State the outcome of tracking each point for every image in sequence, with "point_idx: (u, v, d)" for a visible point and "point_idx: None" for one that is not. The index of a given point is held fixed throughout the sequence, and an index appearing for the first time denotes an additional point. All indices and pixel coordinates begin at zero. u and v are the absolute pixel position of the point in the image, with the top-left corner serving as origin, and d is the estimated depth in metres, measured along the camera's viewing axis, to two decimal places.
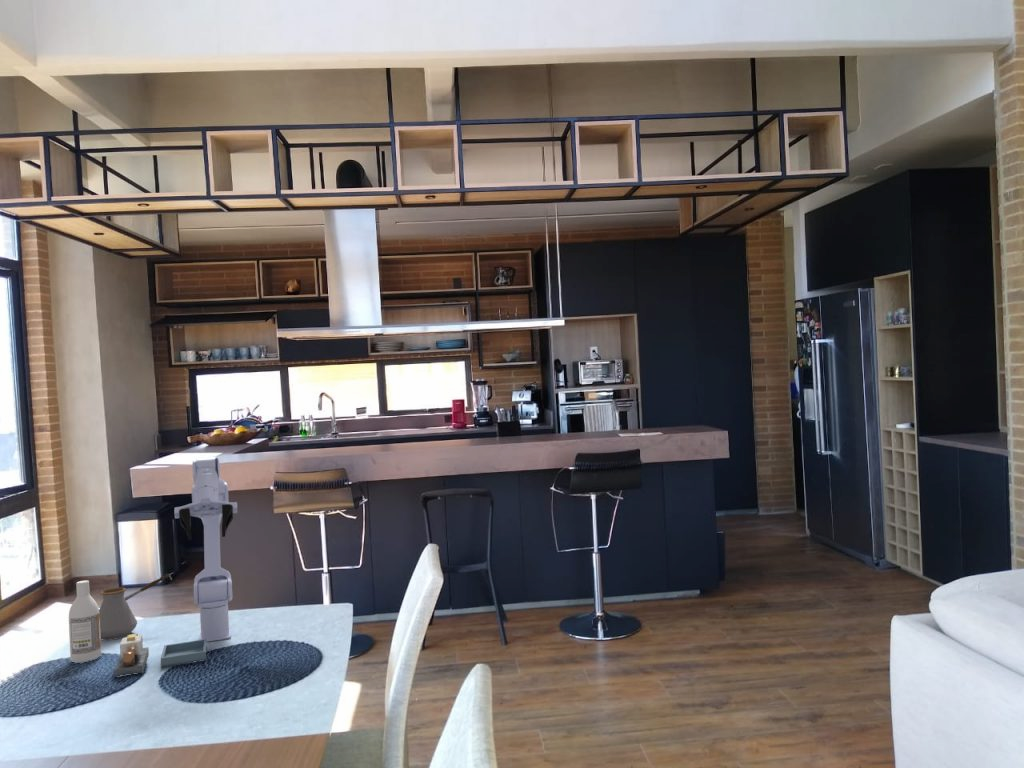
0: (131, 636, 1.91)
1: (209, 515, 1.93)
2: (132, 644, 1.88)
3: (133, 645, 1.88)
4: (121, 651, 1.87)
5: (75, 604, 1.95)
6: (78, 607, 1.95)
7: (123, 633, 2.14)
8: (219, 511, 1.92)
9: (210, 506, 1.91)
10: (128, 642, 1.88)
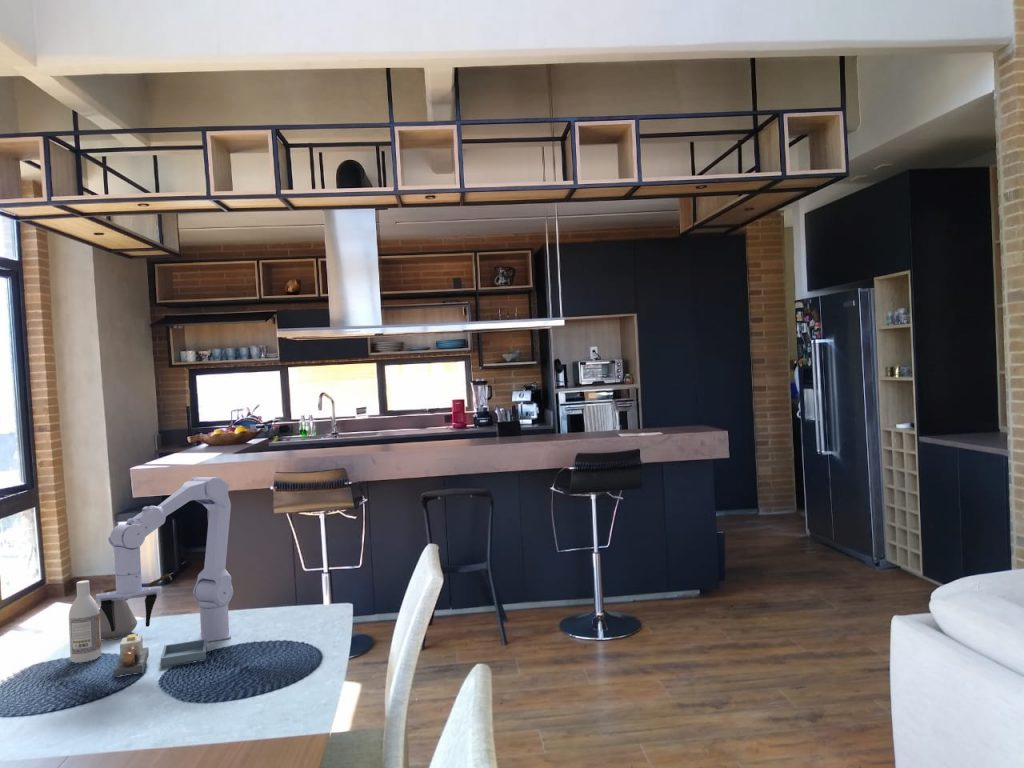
0: (131, 636, 1.91)
1: None
2: (132, 644, 1.88)
3: (133, 645, 1.88)
4: (121, 651, 1.87)
5: (75, 604, 1.95)
6: (78, 607, 1.95)
7: (123, 633, 2.14)
8: (142, 596, 1.92)
9: None
10: (128, 642, 1.88)
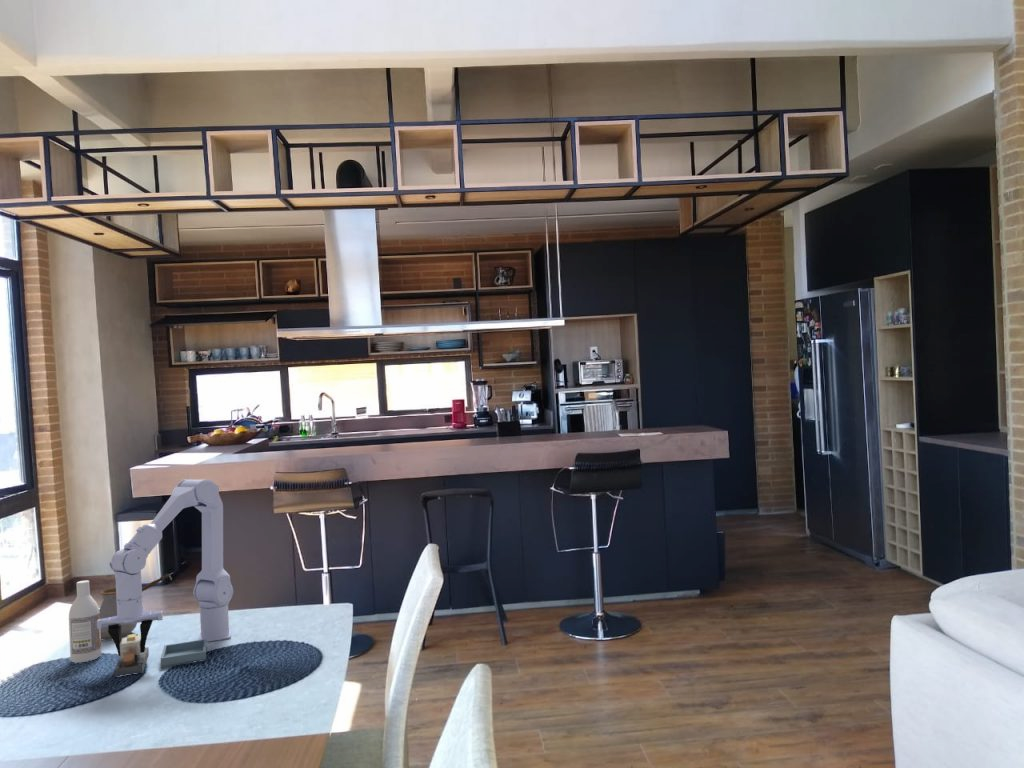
0: (131, 636, 1.91)
1: None
2: (132, 644, 1.88)
3: (133, 645, 1.88)
4: (121, 651, 1.87)
5: (75, 604, 1.95)
6: (78, 607, 1.95)
7: (123, 633, 2.14)
8: None
9: None
10: (128, 642, 1.88)
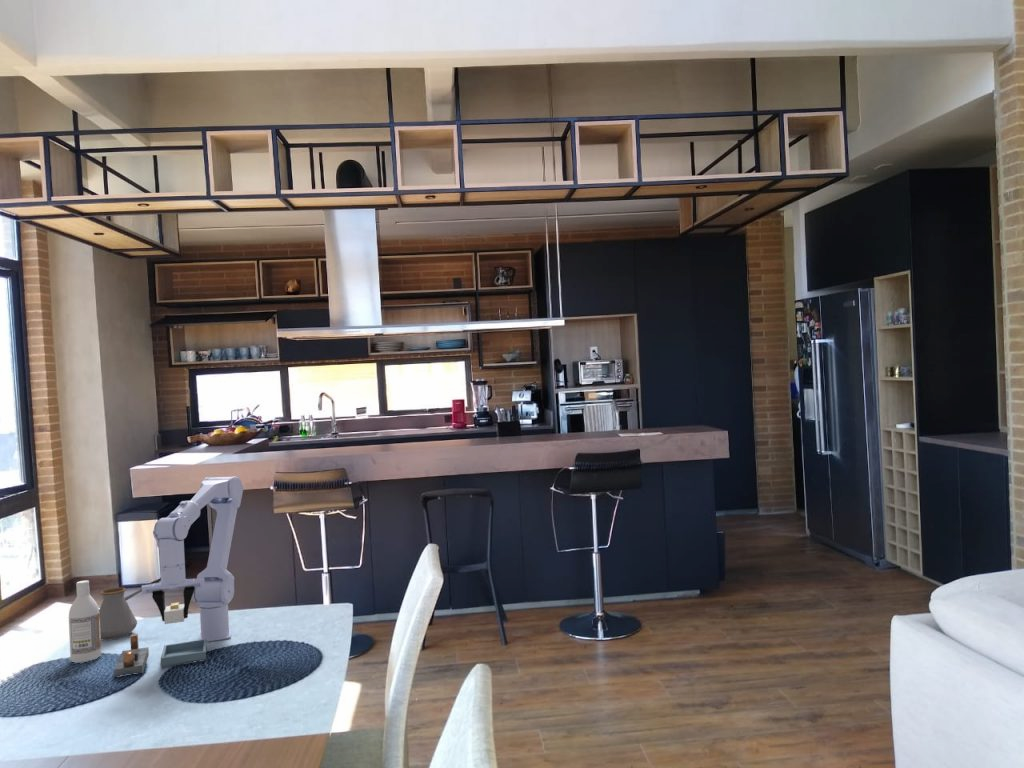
0: (174, 604, 1.94)
1: None
2: (176, 612, 1.91)
3: (176, 613, 1.91)
4: (165, 618, 1.91)
5: (75, 604, 1.95)
6: (78, 607, 1.95)
7: (123, 633, 2.14)
8: None
9: None
10: (172, 610, 1.92)
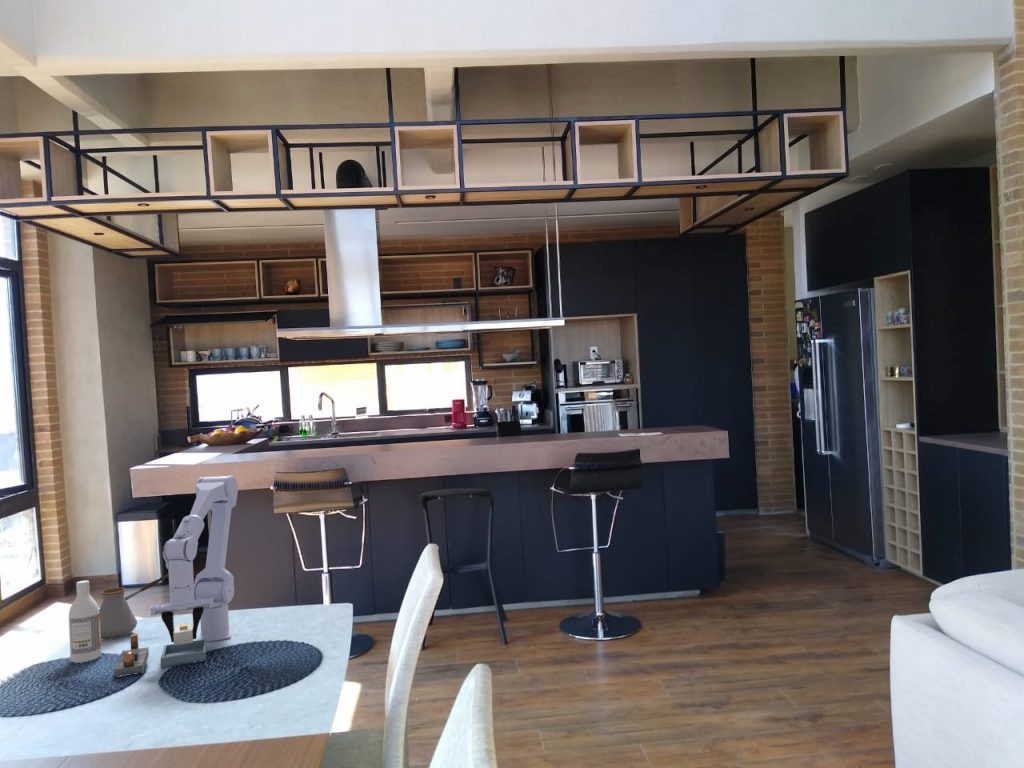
0: (183, 625, 1.95)
1: None
2: (185, 633, 1.92)
3: (186, 634, 1.92)
4: (174, 640, 1.91)
5: (75, 604, 1.95)
6: (78, 607, 1.95)
7: (123, 633, 2.14)
8: None
9: None
10: (181, 631, 1.92)
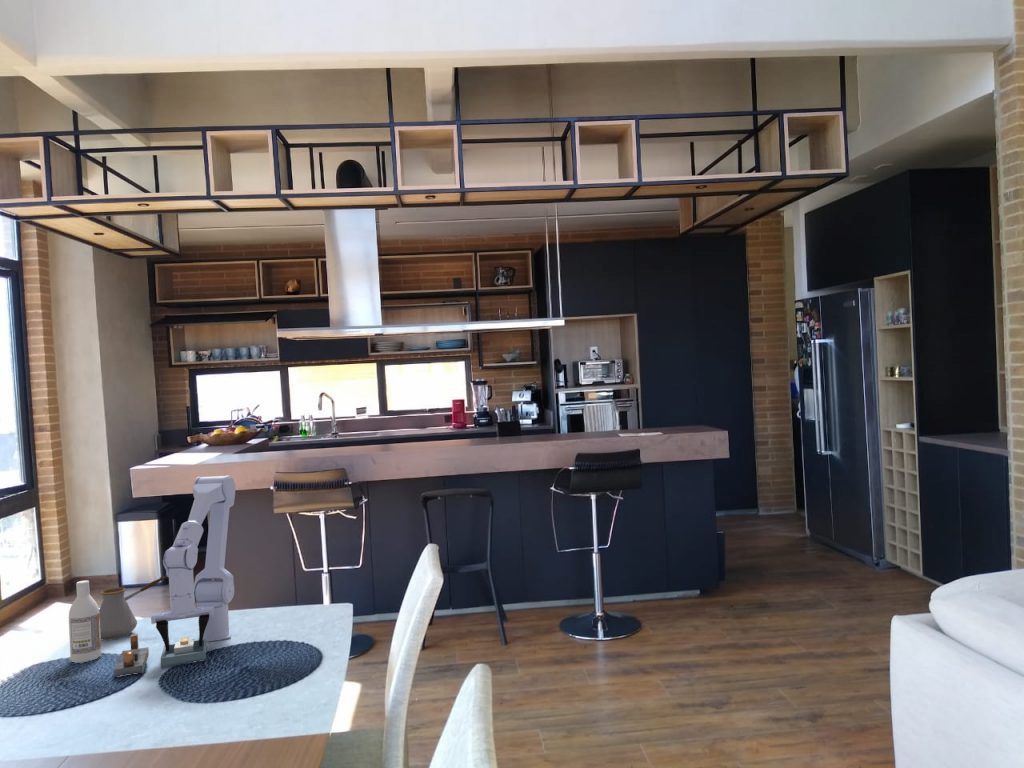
0: (184, 640, 1.95)
1: None
2: (186, 648, 1.92)
3: (186, 649, 1.92)
4: None
5: (75, 604, 1.95)
6: (78, 607, 1.95)
7: (123, 633, 2.14)
8: (196, 616, 1.96)
9: None
10: (182, 646, 1.92)
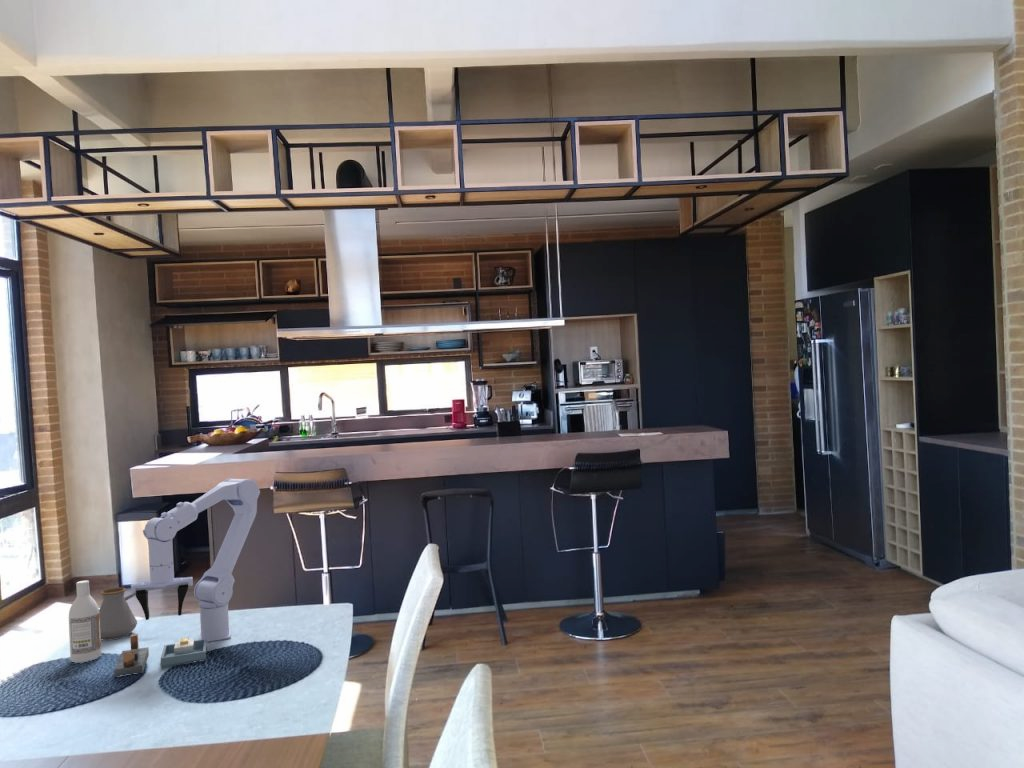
0: (184, 640, 1.95)
1: None
2: (186, 648, 1.92)
3: (186, 649, 1.92)
4: None
5: (75, 604, 1.95)
6: (78, 607, 1.95)
7: (123, 633, 2.14)
8: (175, 586, 2.01)
9: None
10: (182, 646, 1.92)
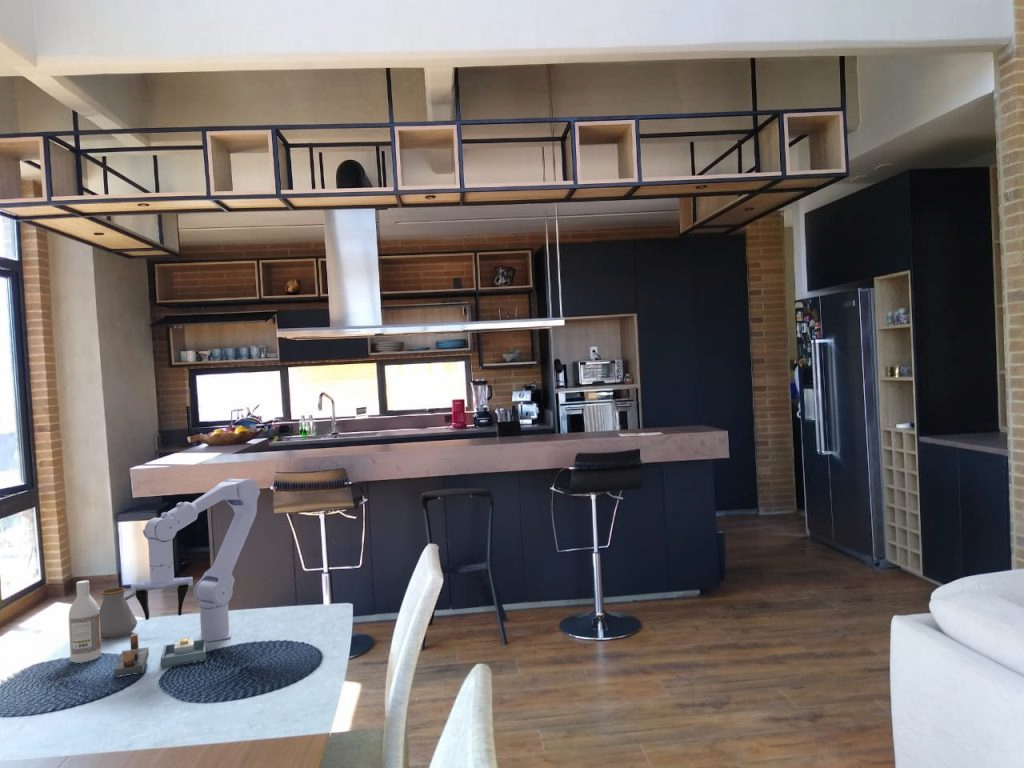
0: (184, 640, 1.95)
1: None
2: (186, 648, 1.92)
3: (186, 649, 1.92)
4: None
5: (75, 604, 1.95)
6: (78, 607, 1.95)
7: (123, 633, 2.14)
8: (175, 586, 2.01)
9: None
10: (182, 646, 1.92)
